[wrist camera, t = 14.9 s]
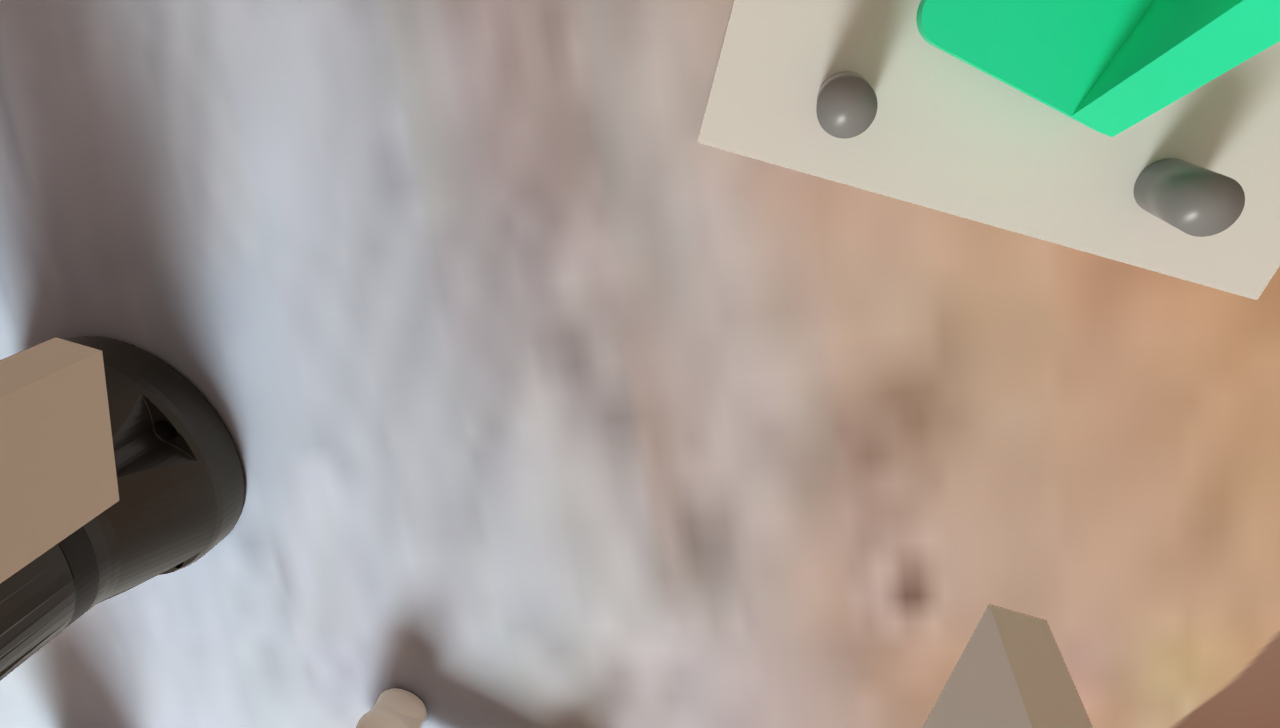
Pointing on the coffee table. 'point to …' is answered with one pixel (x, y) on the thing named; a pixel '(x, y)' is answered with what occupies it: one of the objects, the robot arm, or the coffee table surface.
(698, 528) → the coffee table surface
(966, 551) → the coffee table surface
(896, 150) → the stub plate
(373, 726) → the dog bone
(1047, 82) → the camera mount
